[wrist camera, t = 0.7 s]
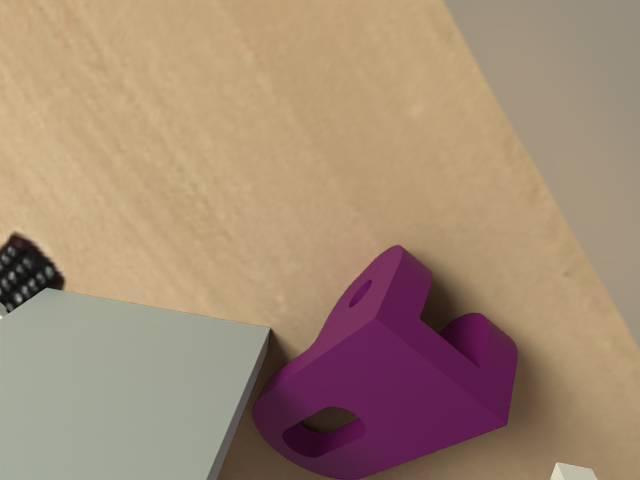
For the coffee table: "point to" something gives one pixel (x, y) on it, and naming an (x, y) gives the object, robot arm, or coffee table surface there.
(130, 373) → the wall board
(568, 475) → the robot arm
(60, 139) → the coffee table surface
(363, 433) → the mounting bracket
